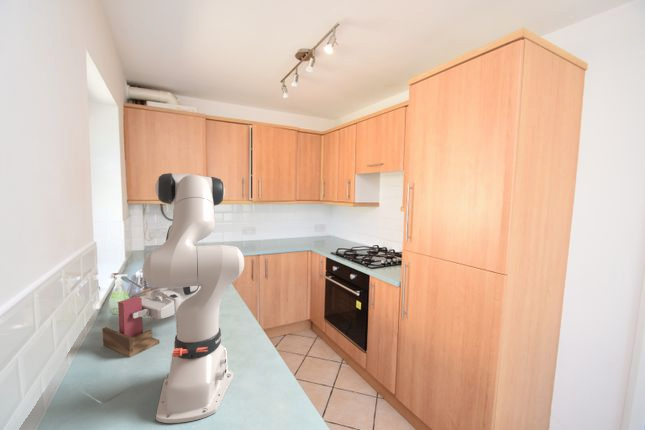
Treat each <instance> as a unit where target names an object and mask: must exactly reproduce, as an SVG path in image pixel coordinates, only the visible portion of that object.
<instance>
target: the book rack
mask: <svg viewBox="0 0 645 430" xmlns="http://www.w3.org/2000/svg"><path fill="white" fill-rule="evenodd" d="M158 344H160V339H158V338H155V337H153V331H152V330H151V329H148V330H146V331H143V333H141V334H139V335H136V336H134V337H130V336H127V335H125V334H122V333H119V331H117V330H114V329H111V328H109V327H108V326H105V327H102V345H103V347H106V348H108V349H111V350H113V351H115V352H117V353H119V354H121V355H124V356H125V357H128V358H132V357H133V356H136V355H139V354H140V353H142V352H144V351H146V350H149V349H150V348H153V347H155V346H157V345H158Z"/></svg>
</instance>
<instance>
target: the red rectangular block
mask: <svg viewBox="0 0 645 430" xmlns="http://www.w3.org/2000/svg"><path fill="white" fill-rule="evenodd" d="M117 307H118V308H117V310H118V332H119V333H122V334H125V335H127V336H130V337H134V336H136V335H139V334H141V333H143V332H144V331H143V329H144V328H143V317H137V318H131V313H133V312H136V311H137V312H138V311H142V298H140V296H133V297H129V298H127V299H123V300H119V301H118V302H117Z"/></svg>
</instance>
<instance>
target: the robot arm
mask: <svg viewBox="0 0 645 430" xmlns="http://www.w3.org/2000/svg"><path fill="white" fill-rule="evenodd" d="M223 182H224V181H222V179H221V178H219V177H215V176H204V175H198V174H193V173H192V174H191V173H171V172H168V173H162V174H160V175H159V176H158V178H157V180H156V183H155V185H154V187H155V188H154V190H155V194H156V196H157V199H158V200H159V201H160V202H161V203H162V204H166V205H173V209H172V223H171V225H170V226H169V227H168V230H167V231H166V238H165V242H164V243H163V244H161V245H160V247H158V248H157V249H154V250H153V251H152V252H150V253H149V254H148V255H147V257H146V258H145V260H144V262H143V264H142V276H143V279H144V281H145V282H146V284H147V285H149V287H150V288H155V289H163V290H160V291H158V292H156V293H155V295H154V296H152V295H141V296H139V297H140V298H142V311H138V312H137V311H136V312H133V313H131V318H137V317H142V318H143V317H150V318H154V319H156V320H162V319H166V318H169V317H172V316H175V319H176V321H175V323H176V324H175V325H176V328H175V329H176V335H175V336H174V343H173V345H174V346H173V347H174V348H173V351H172V353H171V361H170V367H169V372H168V373H167V374H166V378H165V379H164V380H163V383H162V387H161V391H160V396H159V399H158V405H157V410H156V414H155V420H156V421H157V422H158V423H162V424H179V423H185V422H186V423H187V422H192V421H193V422H194V421H196V420H201V419H204V418H206V417H209V416H211V415H213V414H215V413H216V412H217V411H218V409H219V408H220V405H221V404H222V401H223V399H224V398H225V395H226V393H227V391H228V389H229V387H230V385H231V384H232V381H233V379H234V376H235V375H234V372H233V370H229V369H228V355H227V353H228V352H227V348H226V347H225V346H223V344H222V333H221V331H222V330H221V327H220V309H221V308H220V307H221V302H222V299H223V297H224V295H225V294H226V291H228V288H229V287H230V286H231V285H232V283H234V281H236V280H237V279H238V278H239V277H240V276H241V275H242V274H243V271H244V268H245V266H246V265H245V264H246V263H245V256H244V254H243V252H242V250H240V248H239V247H238V246H236V245H234V246H233V245H228V244H211V245H195V244H197V243H198V242H200V241H202V240H204V239H206V238H208V236H210V235H211V234H212V233H213V232H214V230H215V228H216V219H215V218H216V217H215V206H218V205H220V204H221V203H223V200H224V197H225V195H226V188H225V186H224V183H223Z"/></svg>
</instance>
